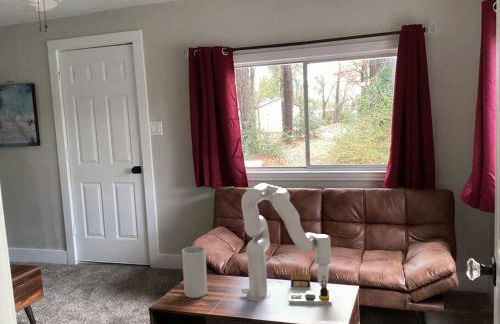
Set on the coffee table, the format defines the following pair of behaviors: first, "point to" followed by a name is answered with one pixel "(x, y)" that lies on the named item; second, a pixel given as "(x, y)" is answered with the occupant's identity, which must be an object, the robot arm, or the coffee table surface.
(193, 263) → the cylinder vase
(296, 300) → the rail
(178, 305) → the coffee table surface
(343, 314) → the coffee table surface
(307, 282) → the ammunition clip
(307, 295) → the grey brushed cube
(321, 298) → the gold brushed block
